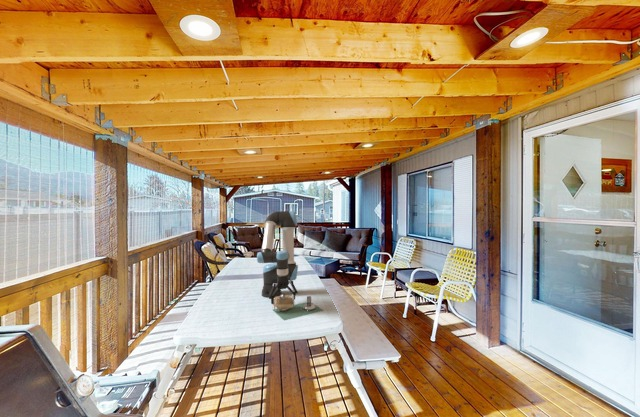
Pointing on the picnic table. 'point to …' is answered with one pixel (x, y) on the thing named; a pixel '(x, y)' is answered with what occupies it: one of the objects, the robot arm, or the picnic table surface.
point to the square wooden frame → (283, 302)
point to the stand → (283, 298)
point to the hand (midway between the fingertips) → (283, 306)
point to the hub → (309, 305)
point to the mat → (296, 311)
